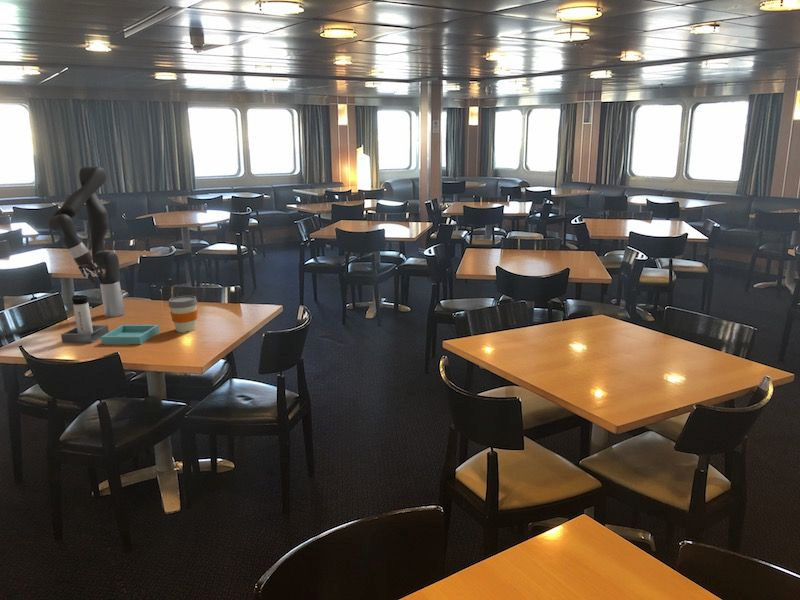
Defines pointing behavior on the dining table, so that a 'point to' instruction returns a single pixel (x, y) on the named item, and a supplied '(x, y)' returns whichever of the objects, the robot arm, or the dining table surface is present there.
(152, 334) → the teal tray
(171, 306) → the reusable coffee cup
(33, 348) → the dining table surface
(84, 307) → the travel mug
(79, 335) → the gray tray
